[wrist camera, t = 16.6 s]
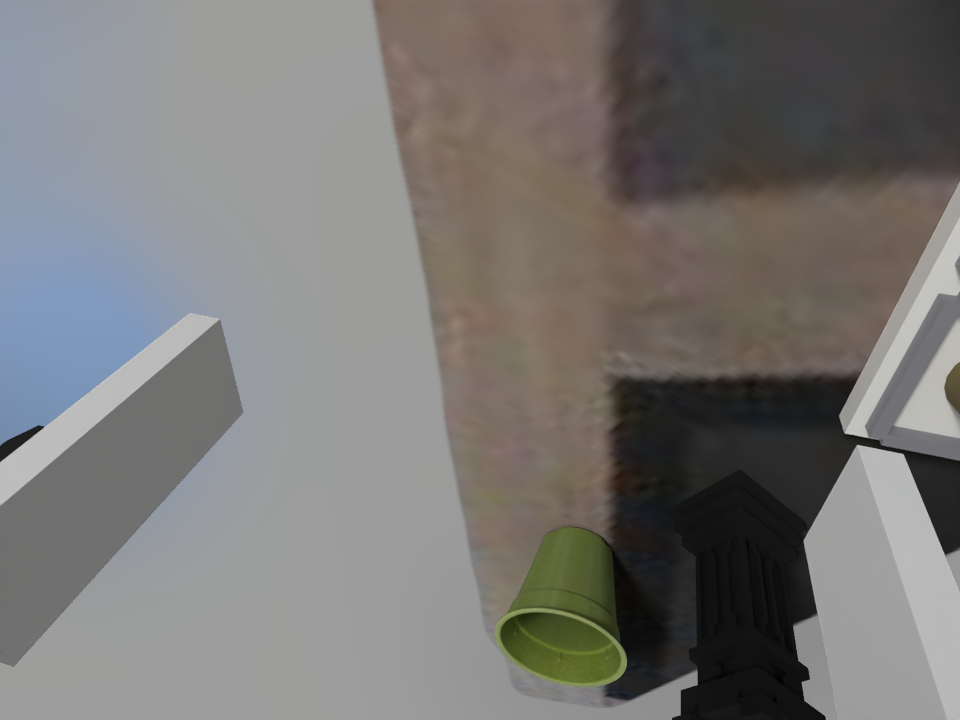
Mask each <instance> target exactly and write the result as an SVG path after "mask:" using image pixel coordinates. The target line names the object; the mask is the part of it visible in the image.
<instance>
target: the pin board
mask: <svg viewBox="0 0 960 720" xmlns="http://www.w3.org/2000/svg"><path fill="white" fill-rule="evenodd" d="M959 362H960V182H959V184H958V186H957V188H956V190H955V192H954V194H953V196H952V198H951V200H950V202H949V204H948V206H947V208H946V209H945V211H944V213H943V215H942V217H941V219H940V221H939V223H938V225H937V227H936V229H935V231H934V233H933V235H932V237H931V239H930V241H929V242H928V244H927V246H926V248H925V250H924V252H923V254H922V256H921V258H920V260H919V262H918V264H917V266H916V268H915V270H914V272H913V274H912V275H911V277H910V279H909V281H908V283H907V285H906V287H905V289H904V291H903V293H902V295H901V297H900V299H899V301H898V303H897V305H896V307H895V308H894V310H893V312H892V314H891V316H890V318H889V320H888V322H887V324H886V326H885V328H884V330H883V332H882V334H881V336H880V338H879V340H878V342H877V343H876V345H875V347H874V349H873V351H872V353H871V355H870V357H869V359H868V361H867V363H866V365H865V367H864V369H863V371H862V373H861V375H860V376H859V378H858V380H857V382H856V384H855V386H854V388H853V390H852V392H851V394H850V396H849V398H848V400H847V402H846V404H845V406H844V408H843V409H842V411H841V413H840V415H839V417H840V421H841V424H842V427H843V430H844V433H845V434H851V435H856V436H861V437H866V438H871V439H876V440H879V441H880V443H881V445H883V446H888V447H893V448H898V449H903V450H908V451H913V452H918V453H924V454H929V455H934V456H939V457H944V458H949V459H954V460H959V461H960V414H959V413H958V412H957V411H956V409H955V408H954V407H953V406H952V405H951V404H950V402H949V401H948V400H947V399H946V395H945V390H944V386H945V382H946V378H947V376H948V374H949V373H950V371H951V370H952V369H953V367H954V366H955V365H956V364H957V363H959Z"/></svg>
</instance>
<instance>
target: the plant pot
mask: <svg viewBox="0 0 960 720" xmlns="http://www.w3.org/2000/svg"><path fill="white" fill-rule="evenodd" d="M495 638H496V641H497V644H498V646H499V647H500V649H501V650H502V651H503V653H504V654H505V655H506V656H507V657H508V658H509V659H510V660H511V661H512V662H514V663H515V664H517V665H518V666H519V667H521V668H522V669H524V670H525V671H527V672H529V673H531V674H533V675H536V676H538V677H540V678H542V679H545V680H548V681H551V682H554V683H558V684H562V685H568V686H577V687H594V686H601V685H605V684H609V683H611V682H613V681H615V680H616V679H618V678H619V677H620V676H621V675H622V674H623V673H624V671H625V669H626V666H627V658H626V654H625V651H624V649H623V647H622V645H621V644H620V634H619V628H618V625H617V620H616V604H615V589H614V573H613V559H612V551H611V549H610V547H609V546H607V545H606V544H605V542H604V541H603V540H602V539H601V537H600V536H598V535H596V534H594V533H592V532H590V531H588V530H585V529H581V528H575V527H563V528H561V529H559V530H556V531H551V532H549V533H548V534H547V535H546V536H545V537H544V539H543V541H542V544H541V546H540V548H539V550H538V552H537V555H536V557H535V559H534V561H533V563H532V566H531V568H530V570H529V572H528V574H527V577H526V579H525V581H524V583H523V585H522V588H521V590H520V592H519V594H518V596H517V598H516V599H515V600H514V601H513V603H512V604H511V607H510V609H509V611H508V613H507V614H505V615H504V616H503V617H501V618H500V620H499V621H498V623H497V624H496V627H495Z"/></svg>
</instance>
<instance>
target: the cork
mask: <svg viewBox="0 0 960 720" xmlns="http://www.w3.org/2000/svg"><path fill="white" fill-rule="evenodd" d="M944 390H945V395H946V399H947V400H948V401H949V402H950V404H951V405H952V406H953V407H954V408H955V409H956V411H957V412H958V413H959V414H960V362H959V363H957V364H956V365H955V366H954V367H953V369H952V370H951V371H950V373H949V374H948V376H947V378H946V382H945V386H944Z"/></svg>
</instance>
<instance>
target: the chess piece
mask: <svg viewBox="0 0 960 720" xmlns="http://www.w3.org/2000/svg"><path fill="white" fill-rule="evenodd" d="M669 516H670V517H671V518H672V519H674V520H675V521H676V522H677V523H675V530H676V531H677V532H678V533H679V534H681V535H682V536H683V538H682V546H683V547H685V548H686V549H687V550H689V551H690V552H691V553H693V554H694V555H695V556H696V604H697V647H695V648H692V649H689V660H690V661H692V662H693V663H695V664H696V665H697V666H698V685H697V686H693V687H691V688H687V689H684V690H681V715H680V716H677V717H673V718H672V720H826V718H825V716H824V715H822V714H821V713H820V712H819V711H817V710H816V709H815V708H813V707H812V706H810V705H809V704H808V703H806V702H805V701H804V696H803V690H802V681H806V680H809V679H810V677H809V671H808V668H807V667H806V666H804V665H803V664H802V663H800V662H799V661H798V656H797V650H796V643H795V637H794V630H793V623H792V617H791V610H790V604H789V597H788V591H787V584H786V578H785V571H784V564H785V563H787V562H790V561H792V560H794V559H797V553H796V550H795V549H794V548H793V547H795V546H798V545H800V544H802V540H801V536H800V535H799V534H798V533H800V532H802V531H804V530H806V529H807V528H806V523H805V522H804V521H803V520H802V519H801V518H799V517H798V516H797V515H796V514H794V513H793V512H792V511H791V510H789V509H788V508H787V507H786V506H785V505H783V504H782V503H781V502H780V501H778V500H777V499H776V498H775V497H773V496H772V495H771V494H770V493H768V492H767V491H766V490H765V489H763V488H762V487H761V486H760V485H759V484H757V483H756V482H755V481H754V480H752V479H751V478H750V477H749V476H747V475H746V474H745V473H744V472H742V471H741V470H738V471H737V472H735V473H733V474H731V475H730V476H728V477H726V478H724V479H722V480H721V481H719V482H717V483H715V484H714V485H712V486H710V487H708V488H706V489H705V490H703V491H701V492H699V493H697V494H696V495H694V496H692V497H690V498H689V499H687V500H685V501H683V502H681V503H680V504H678V505H676V506H674V507H673V508H671V509H669Z"/></svg>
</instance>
